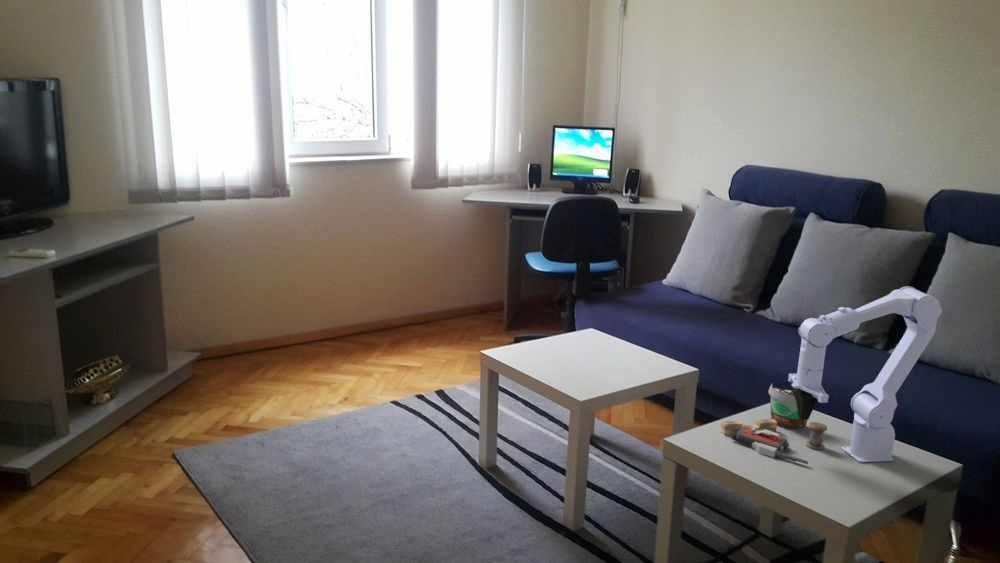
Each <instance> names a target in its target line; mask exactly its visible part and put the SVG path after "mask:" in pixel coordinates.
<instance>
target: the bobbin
mask: <svg viewBox="0 0 1000 563" xmlns="http://www.w3.org/2000/svg"><path fill="white" fill-rule="evenodd" d="M808 428H809V429H810V435H809V440H807V441H806V443H805V446H806V447H807V448H809V449H811V450H814V451H823V450H824V449H825V444H824V443H823V438H824V432H826V431H827V430H828V426H827V425H826V424H824V423H821V422H816V421H813V422H812V421H811V422H809V423H808Z"/></svg>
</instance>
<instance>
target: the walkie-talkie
mask: <svg viewBox="0 0 1000 563" xmlns="http://www.w3.org/2000/svg"><path fill="white" fill-rule="evenodd" d="M731 439H732V440H733V441H735V442H736V443H737V444H739V445H742V444H743V446H747V447H749V448H752V449H753V451H755V452H756V453H758V454H761V455H763V456H764V455H765V456H767V457H769V458H772V459H773V458H774V459H775V457H778V458H783V459H787V460H789V461H792V462H799V463H803V464H805V465H808V464H809V462H808V460H806V459H802V458H799V457H795V456H792V455H789V454H787V453H783V452H784V451H787V450H788V449H789V446H790V442H789V441H788V439H787V438H785V437H782V435H781V433H778V432H777V431H776V432H772V431H769V430H766V429H765V430H762V431H759V430H756V428H755V427H754V428H753V429H752V428H749V427H745V426H744V427H742V428H741V429H740V430H739V431H738V432H737V434H733V435H731Z"/></svg>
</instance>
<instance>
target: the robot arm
mask: <svg viewBox="0 0 1000 563" xmlns="http://www.w3.org/2000/svg"><path fill="white" fill-rule="evenodd" d="M942 313H943V310H942V308H941V304H940V302H939V299H938V298H937V297H935V296H934V295H929V294H927V293H925V292H923V291H920V290H919V289H916V288H915V287H913V286H903V287H900V288H898V289H894V290H892V291H891V292H890V293H888V294H887V295H885V296H883V297H880V298H878V299H876V300H874V301H871V302H868V303H867V304H864V305H862V306H860V307H858V308H856V309H853V308H850V307H849V306H848V307H844V306H840V307H838V308H837V310H836V311H834V312H830V313H828V314H826V315H824V314H822V315H819V317H817V318H815V317H809V318H806V319H804V321H803V322H802V323H801V325H800V326H799V327H798V329H797V330H798V334H799V336H800V338H801V341H800V349H799V350H800V351H799V357H798V362H797V363H798V364H797V371H796V373H788V379H787V381H788V382H790V383H791V387H792V388H793V389H791V390H792V392H793V394H794V397H795V400H796V404H797V411H798V417H799V418H800V419H801V420H807V421H808V420H809V419H810V418H811V414H812V413H813V410H814V409H815V407H816V406H817V404H818V403H820V404H822V403H823V404H824V403H827V404H828V402H829V398H830V395H829V394H828V393H826V391H825V390H824V387H823V386H822V379H823V372H824V364H825V357H826V350H827V346H829V345H830V343H831V342H832V341H833V339H835V338H838V337H840V336H842V335H846V334H847V333H851V332H854V331H855V330H858V329H859V327H860V326H861V323H864V322H868V321H871V320H873V319H877V318H881V317H883V316H887V315H889V314H890V315H891V314H897V315H901V316H902V317H903V319H904V322H905V325H906V326H907V329H906V331H905V333H904V334H903V336H902V337H901V339H900V341H899V342H898V344H897V345H896V347H895V348H894V350H893V351H892V353H891V354H890V356H889V358H888V359H887V361H886V362H885V364H884V366H883V367H882V369H881V370H880V372H879V374H878V375H877V376H876V377H875V380H874V381H873V382H871V383H867V384H865V385H864V386H863V387H862V389H861V390H860V391H858V392H856V393H855V394H854V395H853V397H852V398H851V400H850V407H851V410H852V411H853V412H854V413H853V418H854V419H853V422H852V428H851V435H850V436H851V437H850V443H849V445H848V446H841V449H842V450H843V451H844V452H845V453H847V454H848V455H849V456H851V457H852V458H853V459H855V460H856V461H857V462H858V463H875V462H877V463H878V462H892V461H894V458H893V456H892V455H893V452H894V445H895V438H896V433H895V432H896V431H895V428H894V427H893V425H892V424H891V423H892V421H893V418H894V413H895V411H896V409H897V407H898V402H897V397H896V394H897V393H898V391H899V390H900V388H901V386H902V385H903V383H904V381H905V380H906V378H907V377H908V376H909V374H910V373H911V371H912V369H913V367H914V366H915V364H916V363H917V362H918V360H919V358H920V357H921V355H922V354H923V352H924V351H925V349H926V347H927V346H928V344H929V343H930V342H931V340H932V338H933V336H934V335H935V333H936V327H937V323H938V319H939V317H940V316H941V314H942Z"/></svg>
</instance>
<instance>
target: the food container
mask: <svg viewBox="0 0 1000 563" xmlns="http://www.w3.org/2000/svg"><path fill="white" fill-rule="evenodd" d="M792 390H793V389H786V388H780V387H774V386H773V383H771V384H770V386H769V389H768V394H769V396H770V419H774V420H775V421H776V422H777V427H779V428H783V429H788V430H802V429H804V428H806V427H807V423H808V420H801V419H800V418H799V417H798V411H797V404H796V400H795V397H794V394H793V392H792Z"/></svg>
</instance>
